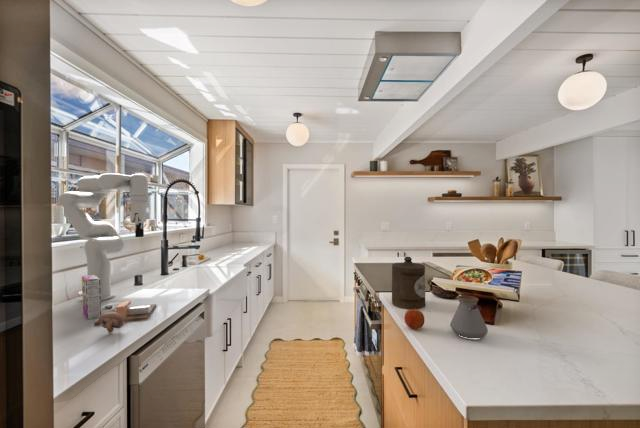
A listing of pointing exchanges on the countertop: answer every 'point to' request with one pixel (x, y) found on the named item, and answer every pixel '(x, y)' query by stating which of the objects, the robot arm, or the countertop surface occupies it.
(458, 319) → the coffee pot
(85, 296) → the candy bar box
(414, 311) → the fruit
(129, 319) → the board
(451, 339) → the countertop surface
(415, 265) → the wooden container
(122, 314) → the keeper
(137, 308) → the link
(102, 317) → the mushroom
